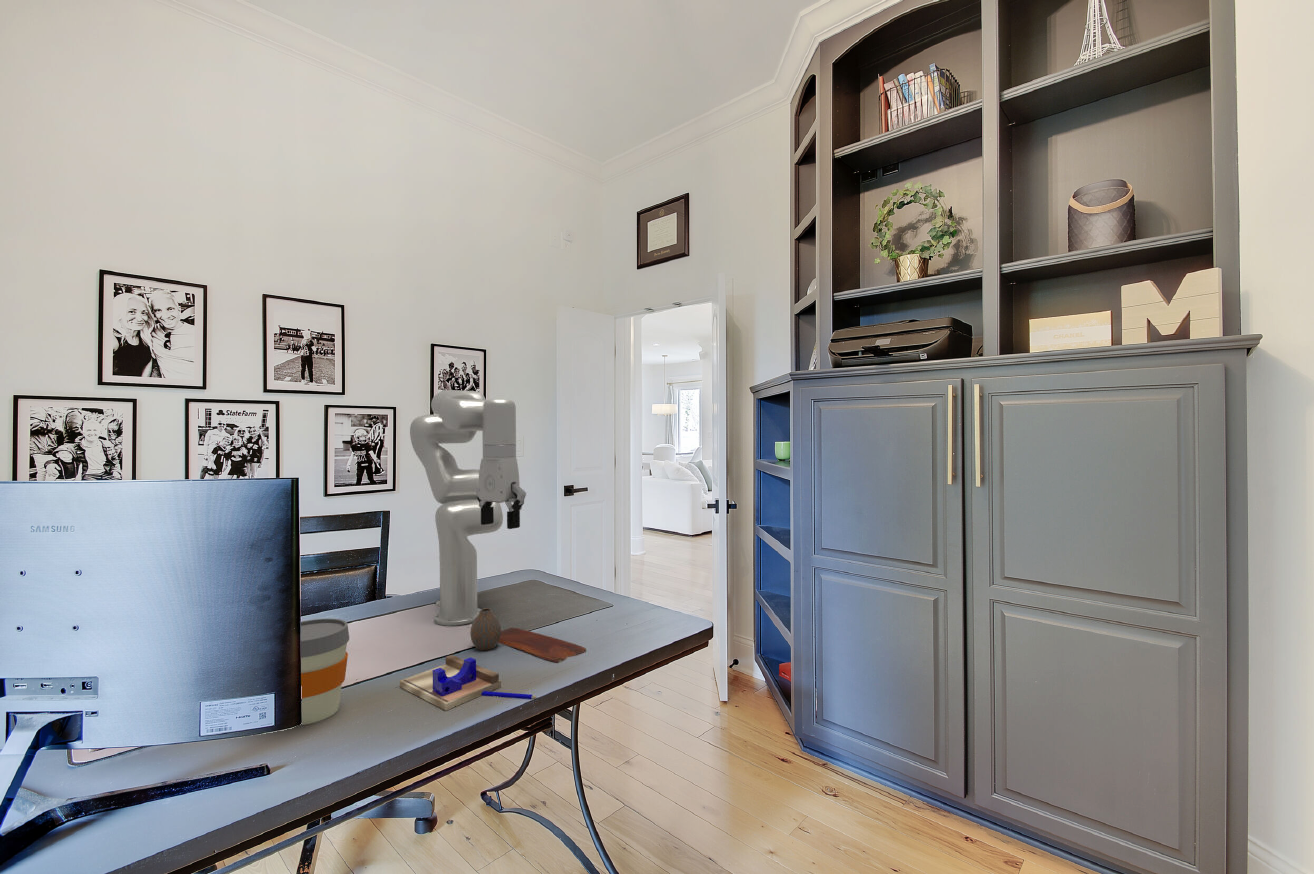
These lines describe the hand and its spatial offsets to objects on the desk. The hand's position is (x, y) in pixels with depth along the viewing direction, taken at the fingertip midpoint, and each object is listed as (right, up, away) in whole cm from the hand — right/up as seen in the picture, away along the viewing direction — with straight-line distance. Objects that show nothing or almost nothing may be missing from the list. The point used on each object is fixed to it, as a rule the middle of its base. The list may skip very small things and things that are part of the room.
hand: (500, 526), depth 132 cm
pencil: (+6, -29, -24) cm, 38 cm away
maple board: (-4, -29, -20) cm, 35 cm away
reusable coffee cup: (-26, -29, -30) cm, 49 cm away
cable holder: (-2, -28, -23) cm, 36 cm away
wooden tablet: (+7, -29, +3) cm, 30 cm away
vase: (-3, -29, +1) cm, 29 cm away
